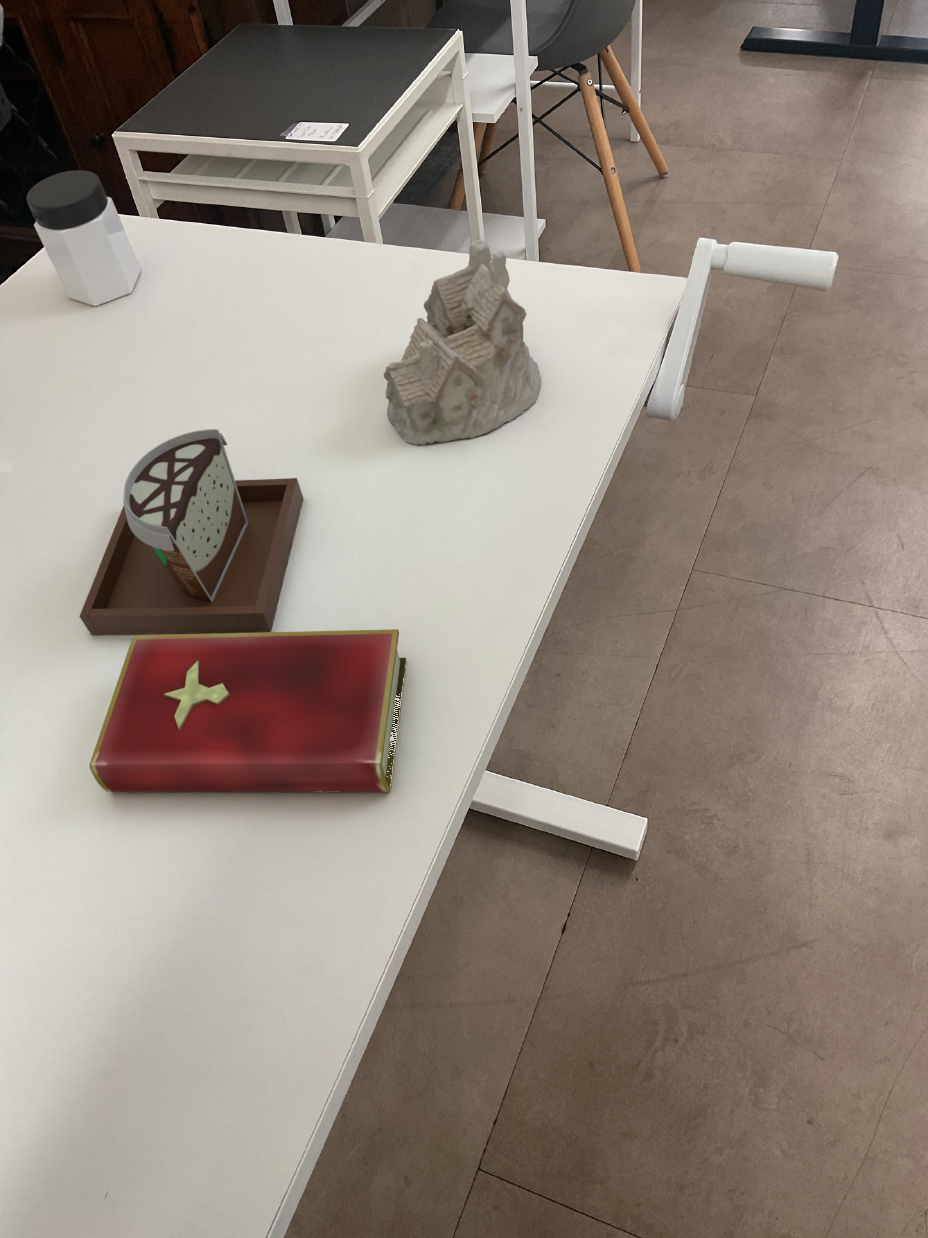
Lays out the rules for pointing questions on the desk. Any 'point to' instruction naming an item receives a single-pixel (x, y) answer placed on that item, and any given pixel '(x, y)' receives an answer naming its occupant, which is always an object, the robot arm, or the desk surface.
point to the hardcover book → (253, 713)
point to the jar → (83, 237)
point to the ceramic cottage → (464, 358)
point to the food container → (188, 509)
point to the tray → (154, 603)
